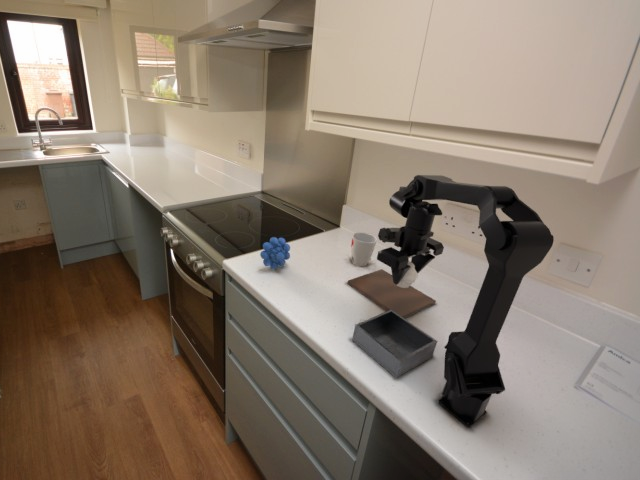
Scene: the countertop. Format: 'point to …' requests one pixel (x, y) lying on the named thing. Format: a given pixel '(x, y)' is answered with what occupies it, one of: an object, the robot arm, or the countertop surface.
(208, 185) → the countertop surface
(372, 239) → the cup
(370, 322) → the dark grey open box
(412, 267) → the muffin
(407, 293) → the board
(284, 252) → the grapes
